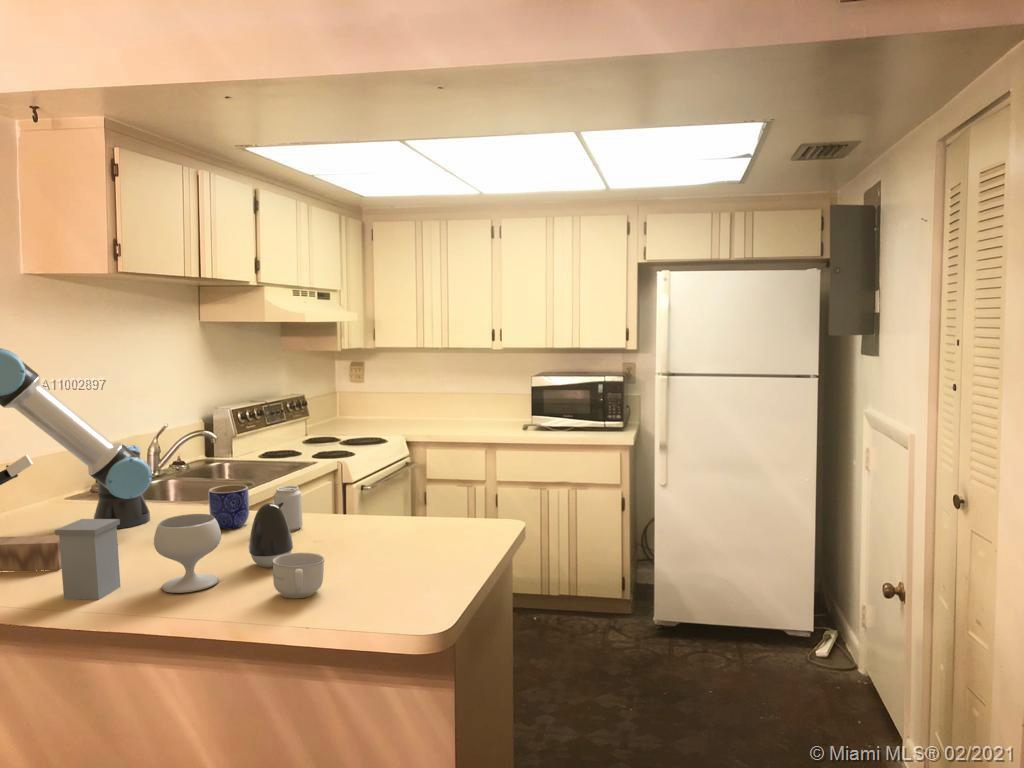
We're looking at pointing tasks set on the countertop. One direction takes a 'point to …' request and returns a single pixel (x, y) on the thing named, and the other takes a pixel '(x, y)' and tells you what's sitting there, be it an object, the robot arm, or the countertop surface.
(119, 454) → the robot arm
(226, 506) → the planter
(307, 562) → the teacup
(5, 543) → the walnut handle block
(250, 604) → the countertop surface
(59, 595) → the countertop surface
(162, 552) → the chalice
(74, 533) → the stand
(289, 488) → the can
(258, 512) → the pump dispenser
